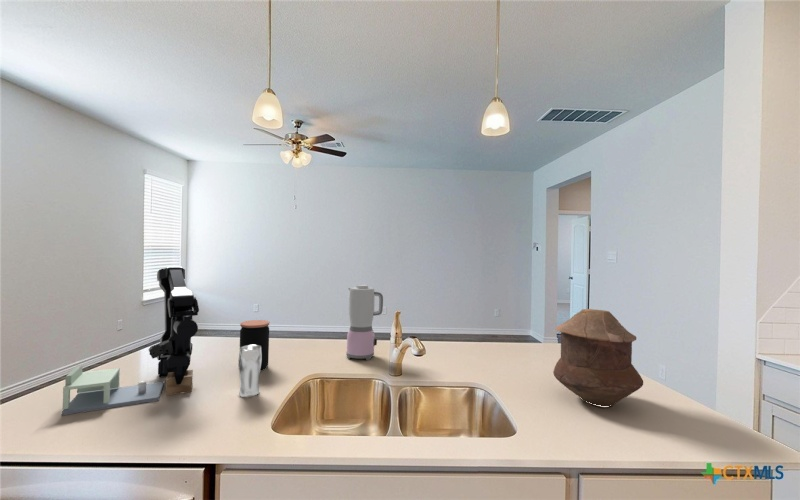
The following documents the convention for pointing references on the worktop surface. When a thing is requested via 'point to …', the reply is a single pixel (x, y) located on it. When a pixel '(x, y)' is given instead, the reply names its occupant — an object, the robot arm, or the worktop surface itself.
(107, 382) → the hood
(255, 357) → the beer glass
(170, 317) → the robot arm
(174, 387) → the sleeve
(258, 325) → the coffee jar
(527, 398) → the worktop surface
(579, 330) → the pottery vessel
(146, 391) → the grey base plate
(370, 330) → the blender
